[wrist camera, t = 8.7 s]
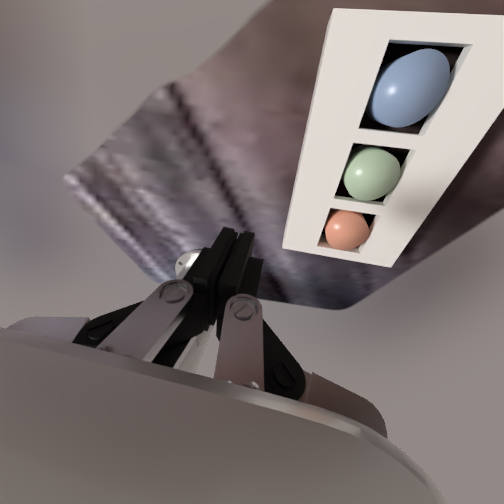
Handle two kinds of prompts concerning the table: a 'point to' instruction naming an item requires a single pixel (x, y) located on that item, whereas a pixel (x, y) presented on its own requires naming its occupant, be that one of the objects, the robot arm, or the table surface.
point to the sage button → (370, 172)
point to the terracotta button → (345, 229)
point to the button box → (421, 145)
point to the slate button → (408, 88)
